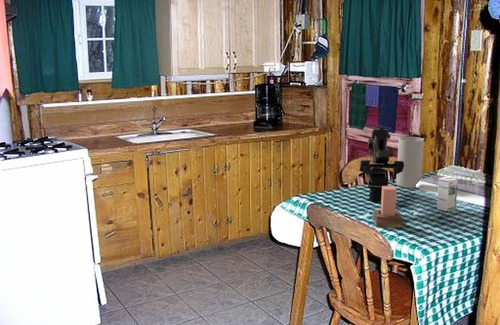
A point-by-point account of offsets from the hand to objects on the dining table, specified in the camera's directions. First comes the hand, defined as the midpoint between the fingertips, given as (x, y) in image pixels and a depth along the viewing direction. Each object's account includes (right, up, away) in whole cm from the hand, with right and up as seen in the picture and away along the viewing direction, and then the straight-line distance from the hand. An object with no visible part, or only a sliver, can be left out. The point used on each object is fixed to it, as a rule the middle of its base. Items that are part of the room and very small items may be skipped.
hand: (382, 182), depth 225 cm
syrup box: (+30, -13, +7) cm, 33 cm away
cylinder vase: (+26, -4, +48) cm, 55 cm away
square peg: (-1, -15, -11) cm, 19 cm away
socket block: (-1, -16, -11) cm, 20 cm away
